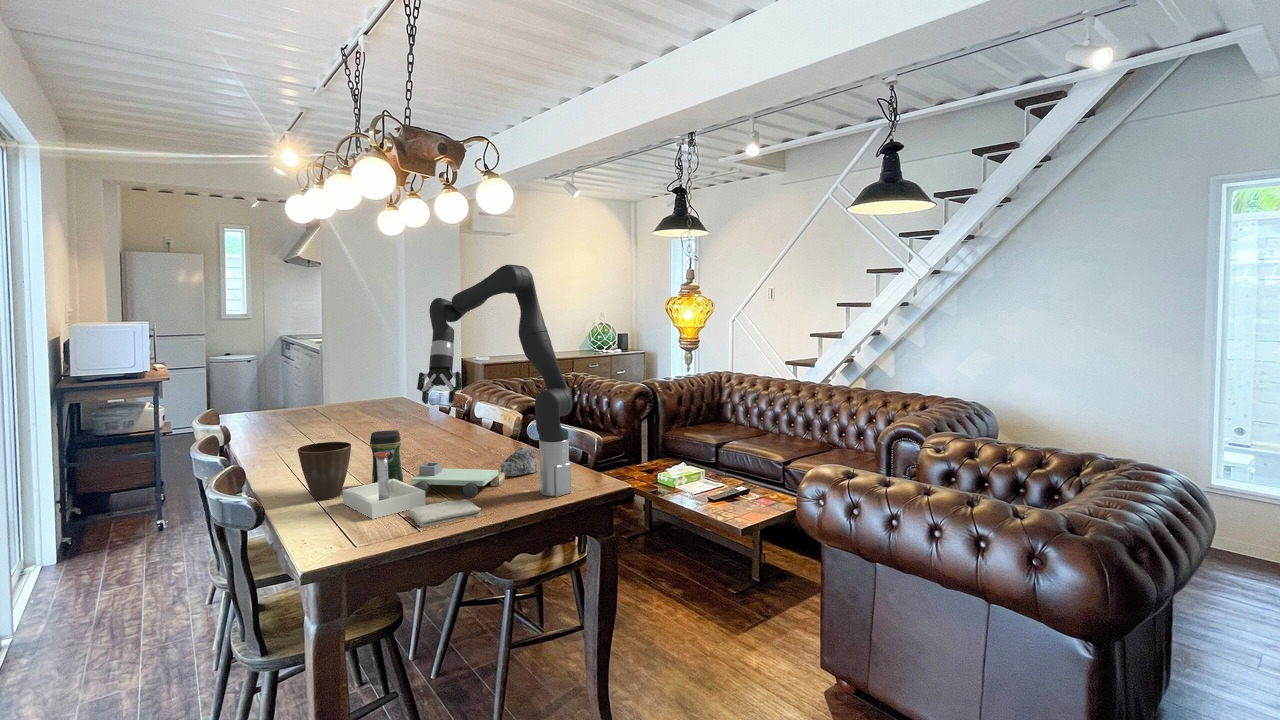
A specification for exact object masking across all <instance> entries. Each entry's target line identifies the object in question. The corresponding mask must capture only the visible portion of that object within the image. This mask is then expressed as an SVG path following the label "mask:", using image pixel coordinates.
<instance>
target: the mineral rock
mask: <svg viewBox="0 0 1280 720" xmlns="http://www.w3.org/2000/svg"><path fill="white" fill-rule="evenodd" d="M535 454H536V453H535V448H533V447H531V446H530V447H529V446H528V447H525V446H523V445H522V446H521V445H520V446H519V447H518V448H516V450H515V451H514V452H513V453H512V454H510V455H509V456H507V458H506V459H505V460H504V462H502V463H501V464H500V472H501V473H505V476H508V477H510V476H512V477H513V476H514V477H515V476H516V477H517V475H518V476H521V475H525V474H535V473H536V472H537V463H536V462H535V461H536V460H535V458H536V456H535Z"/></svg>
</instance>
